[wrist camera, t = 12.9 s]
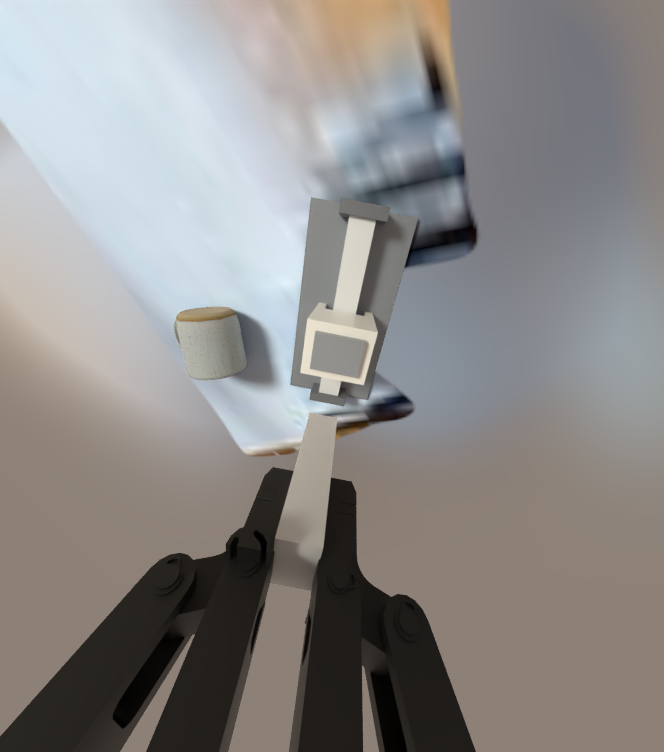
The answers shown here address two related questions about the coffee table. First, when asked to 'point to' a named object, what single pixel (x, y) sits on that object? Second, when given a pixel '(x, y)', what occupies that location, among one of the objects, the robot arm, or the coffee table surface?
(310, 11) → the coffee table surface
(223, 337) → the ceramic mug
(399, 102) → the coffee table surface
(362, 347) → the module
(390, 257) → the rail base
